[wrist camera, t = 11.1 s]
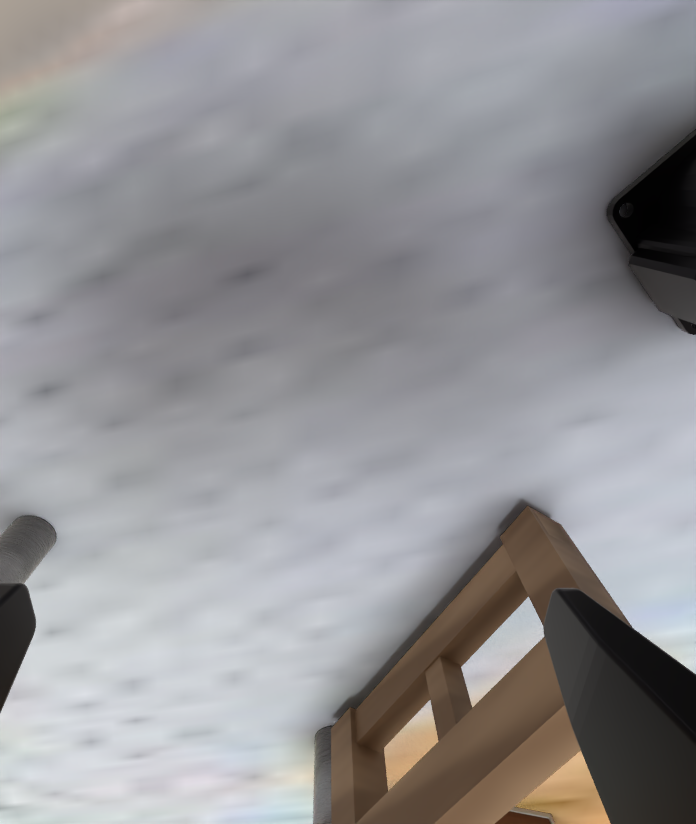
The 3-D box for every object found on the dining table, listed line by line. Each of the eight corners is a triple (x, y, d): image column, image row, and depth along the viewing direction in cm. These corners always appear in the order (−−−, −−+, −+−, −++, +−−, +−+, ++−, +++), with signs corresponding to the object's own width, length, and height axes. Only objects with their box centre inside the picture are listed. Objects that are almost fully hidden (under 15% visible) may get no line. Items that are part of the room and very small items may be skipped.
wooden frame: (561, 524, 23) (666, 677, 16) (361, 740, 29) (372, 927, 22) (527, 505, 23) (620, 653, 16) (330, 728, 28) (331, 916, 21)
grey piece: (27, 508, 23) (-115, 657, 16) (356, 737, 30) (365, 916, 22) (1, 533, 23) (-148, 690, 16) (331, 753, 30) (332, 933, 23)
